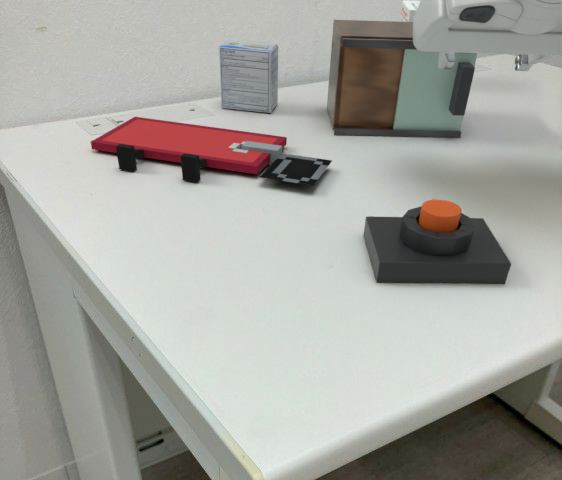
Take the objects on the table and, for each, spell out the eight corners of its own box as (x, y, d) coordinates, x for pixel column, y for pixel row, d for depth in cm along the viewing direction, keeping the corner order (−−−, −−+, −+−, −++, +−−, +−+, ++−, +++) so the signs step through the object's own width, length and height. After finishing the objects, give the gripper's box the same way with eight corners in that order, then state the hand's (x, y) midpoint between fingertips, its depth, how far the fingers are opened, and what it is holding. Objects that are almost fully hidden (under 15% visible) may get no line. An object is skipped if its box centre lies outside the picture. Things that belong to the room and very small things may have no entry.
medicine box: (278, 105, 92) (279, 43, 86) (270, 114, 89) (271, 50, 83) (229, 100, 93) (228, 38, 88) (220, 108, 90) (218, 45, 84)
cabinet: (441, 110, 93) (458, 23, 85) (460, 137, 84) (481, 42, 76) (326, 108, 92) (333, 19, 84) (334, 135, 83) (342, 38, 75)
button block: (477, 237, 61) (487, 201, 59) (504, 284, 55) (517, 245, 52) (363, 236, 61) (368, 199, 58) (376, 283, 54) (382, 244, 52)
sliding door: (458, 129, 84) (477, 45, 77) (464, 137, 82) (484, 51, 75) (392, 128, 84) (405, 43, 77) (396, 136, 82) (410, 49, 75)
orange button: (451, 216, 57) (456, 199, 56) (461, 234, 54) (466, 216, 53) (415, 216, 57) (418, 198, 56) (422, 234, 54) (426, 216, 53)
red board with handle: (308, 199, 66) (340, 155, 77) (309, 175, 64) (342, 133, 75) (75, 162, 73) (136, 127, 84) (71, 139, 71) (133, 106, 82)
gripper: (638, -46, 58) (565, 42, 72) (434, -53, 58) (400, 37, 71) (641, 15, 58) (567, 91, 72) (436, 9, 57) (400, 87, 71)
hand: (482, 64), depth 72 cm, fingers open, 8 cm apart
